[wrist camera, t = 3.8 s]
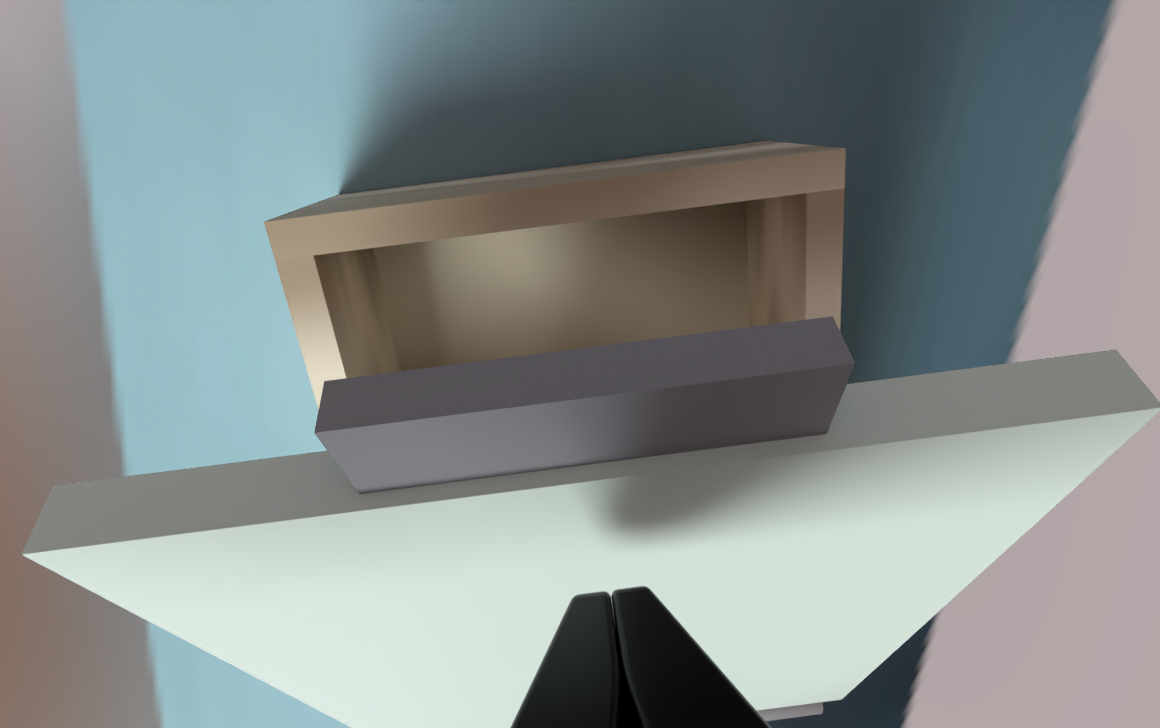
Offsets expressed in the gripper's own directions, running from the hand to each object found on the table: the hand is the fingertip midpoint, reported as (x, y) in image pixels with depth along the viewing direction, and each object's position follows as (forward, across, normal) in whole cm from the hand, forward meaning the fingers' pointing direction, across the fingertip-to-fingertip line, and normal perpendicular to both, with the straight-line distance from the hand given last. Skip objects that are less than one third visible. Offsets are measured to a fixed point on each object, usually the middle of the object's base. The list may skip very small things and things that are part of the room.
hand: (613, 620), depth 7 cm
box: (+13, 0, +3) cm, 13 cm away
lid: (+4, 0, +4) cm, 6 cm away
